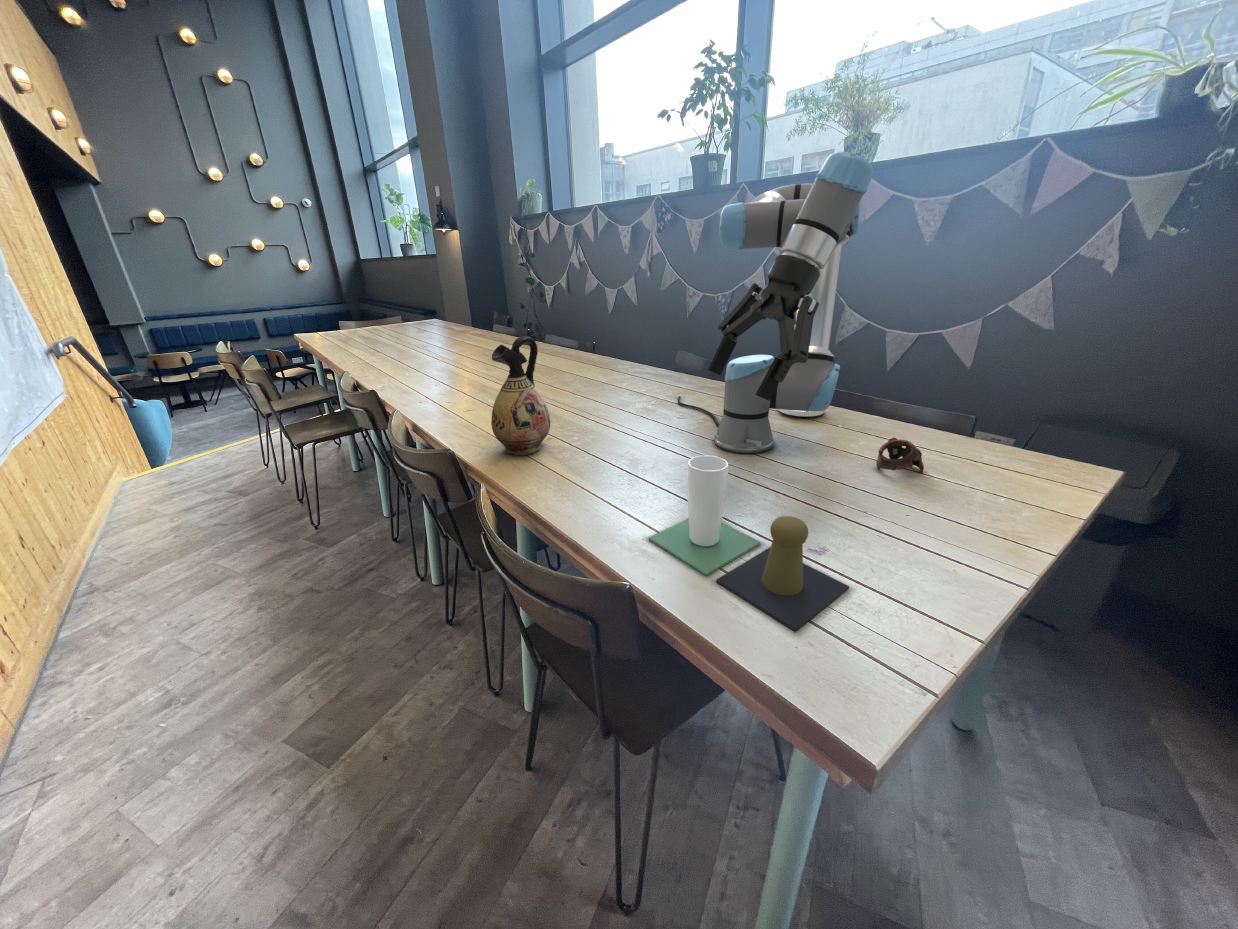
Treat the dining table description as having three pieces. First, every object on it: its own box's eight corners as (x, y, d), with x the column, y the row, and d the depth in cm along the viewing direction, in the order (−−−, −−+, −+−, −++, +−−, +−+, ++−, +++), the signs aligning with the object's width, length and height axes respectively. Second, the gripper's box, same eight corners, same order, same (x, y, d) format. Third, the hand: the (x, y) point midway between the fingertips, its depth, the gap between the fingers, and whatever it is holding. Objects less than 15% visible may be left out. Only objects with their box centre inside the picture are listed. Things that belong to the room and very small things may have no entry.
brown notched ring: (933, 480, 105) (928, 454, 100) (888, 494, 108) (881, 469, 104) (911, 448, 114) (904, 422, 110) (870, 461, 117) (862, 438, 113)
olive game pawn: (759, 590, 71) (766, 527, 66) (763, 567, 76) (770, 507, 71) (802, 599, 68) (812, 535, 64) (803, 575, 74) (813, 514, 69)
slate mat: (716, 582, 73) (716, 579, 73) (770, 549, 81) (770, 546, 81) (795, 632, 63) (796, 629, 63) (848, 589, 71) (849, 586, 71)
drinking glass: (715, 554, 79) (720, 474, 73) (678, 543, 83) (680, 466, 77) (728, 535, 85) (734, 459, 79) (694, 526, 88) (697, 452, 82)
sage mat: (648, 539, 85) (648, 537, 85) (701, 514, 93) (701, 512, 93) (706, 576, 75) (706, 573, 75) (760, 544, 83) (760, 541, 82)
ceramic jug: (513, 465, 118) (498, 344, 106) (485, 449, 129) (468, 338, 117) (568, 447, 128) (560, 335, 116) (538, 434, 139) (527, 330, 127)
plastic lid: (799, 422, 142) (800, 414, 141) (768, 410, 154) (768, 402, 153) (833, 415, 147) (835, 407, 146) (801, 404, 159) (802, 397, 158)
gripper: (878, 283, 67) (801, 416, 73) (763, 263, 87) (711, 369, 93) (849, 261, 63) (770, 403, 69) (736, 245, 83) (683, 357, 89)
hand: (736, 384), depth 81 cm, fingers open, 13 cm apart
